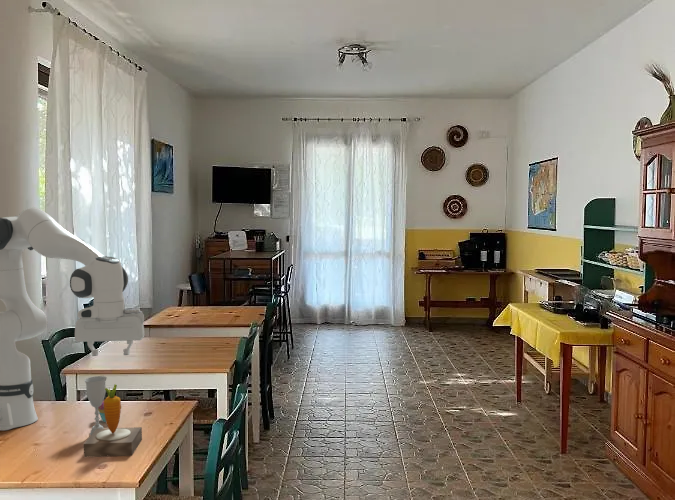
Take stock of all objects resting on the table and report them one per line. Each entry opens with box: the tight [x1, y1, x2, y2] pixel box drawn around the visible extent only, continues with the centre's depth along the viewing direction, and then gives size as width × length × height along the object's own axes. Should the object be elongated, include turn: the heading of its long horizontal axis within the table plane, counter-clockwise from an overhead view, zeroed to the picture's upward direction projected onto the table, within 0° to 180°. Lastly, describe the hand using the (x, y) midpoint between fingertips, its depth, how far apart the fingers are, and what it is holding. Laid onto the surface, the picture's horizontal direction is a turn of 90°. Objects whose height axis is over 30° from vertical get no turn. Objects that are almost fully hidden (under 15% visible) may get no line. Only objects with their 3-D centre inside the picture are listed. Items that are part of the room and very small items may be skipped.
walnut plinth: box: [83, 426, 143, 458], centre depth 213 cm, size 14×14×4 cm
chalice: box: [83, 375, 108, 436], centre depth 227 cm, size 7×7×18 cm
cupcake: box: [98, 387, 111, 423], centre depth 241 cm, size 9×8×12 cm
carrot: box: [104, 383, 122, 434], centre depth 213 cm, size 5×5×15 cm
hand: (110, 355), depth 211 cm, fingers open, 8 cm apart
